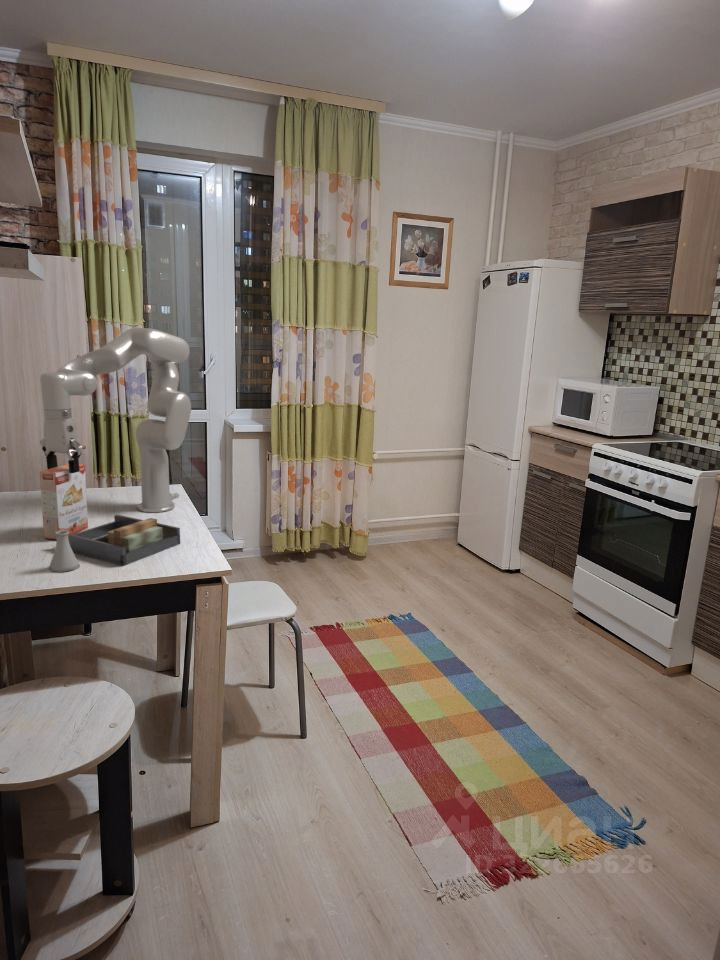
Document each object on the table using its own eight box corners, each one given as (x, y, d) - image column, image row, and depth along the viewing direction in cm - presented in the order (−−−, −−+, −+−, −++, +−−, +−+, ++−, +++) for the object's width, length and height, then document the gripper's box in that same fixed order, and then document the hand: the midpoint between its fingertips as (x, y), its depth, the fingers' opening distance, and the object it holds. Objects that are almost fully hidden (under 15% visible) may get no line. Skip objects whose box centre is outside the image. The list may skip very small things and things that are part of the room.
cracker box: (60, 541, 195) (55, 472, 190) (43, 539, 196) (37, 471, 192) (90, 527, 208) (85, 463, 204) (73, 526, 210) (68, 462, 205)
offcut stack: (145, 542, 197) (144, 516, 195) (164, 546, 193) (163, 520, 192) (108, 555, 185) (107, 528, 183) (128, 560, 181) (126, 532, 180)
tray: (117, 529, 207) (116, 514, 206) (180, 543, 196) (179, 527, 195) (57, 548, 188) (56, 532, 187) (123, 565, 177) (122, 548, 176)
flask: (60, 574, 169) (58, 538, 167) (43, 568, 173) (40, 532, 171) (85, 566, 175) (82, 531, 173) (68, 561, 179) (65, 526, 177)
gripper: (88, 415, 193) (93, 471, 198) (49, 410, 201) (54, 464, 205) (67, 418, 187) (72, 476, 191) (27, 413, 195) (33, 469, 199)
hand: (63, 470), depth 198 cm, fingers open, 9 cm apart
